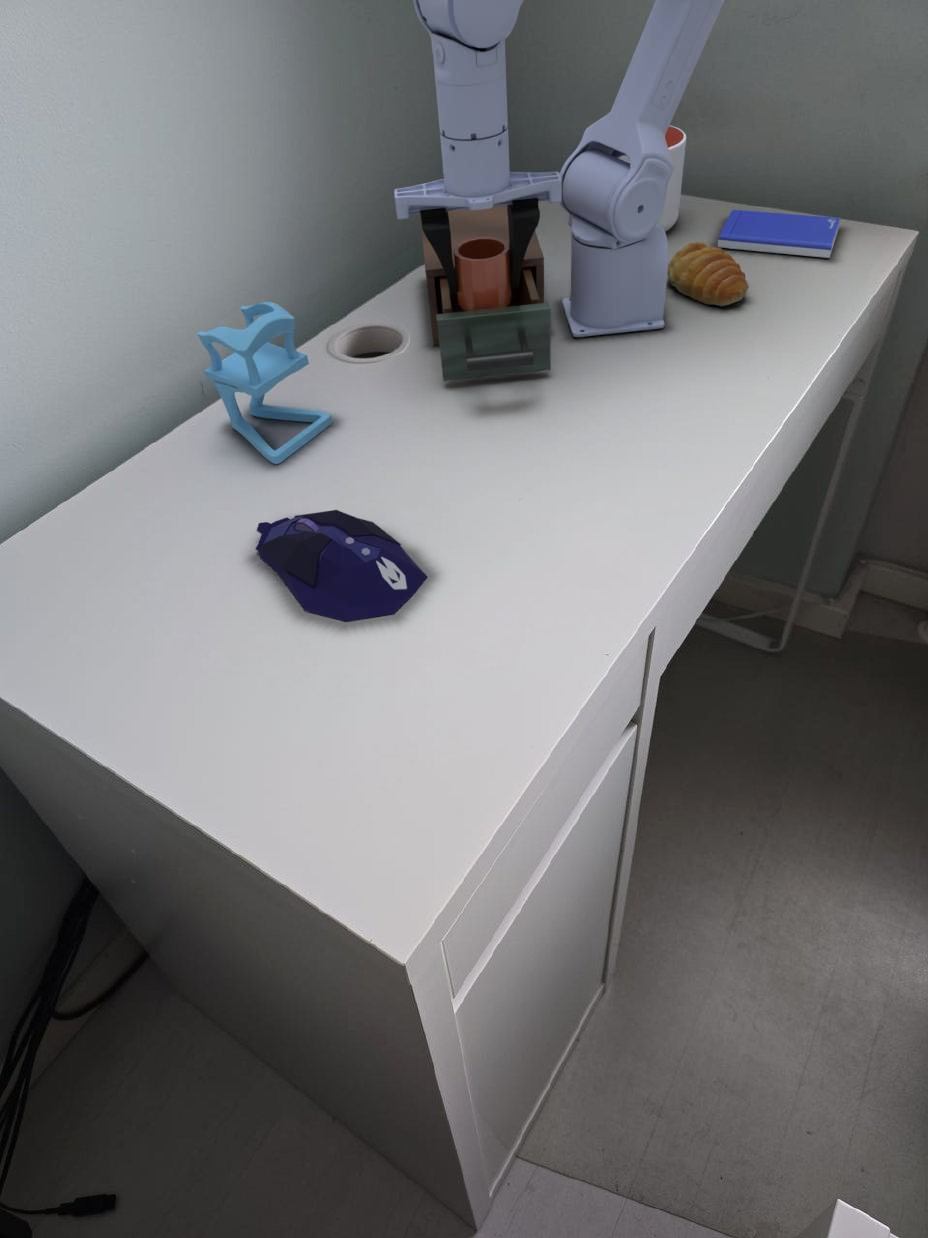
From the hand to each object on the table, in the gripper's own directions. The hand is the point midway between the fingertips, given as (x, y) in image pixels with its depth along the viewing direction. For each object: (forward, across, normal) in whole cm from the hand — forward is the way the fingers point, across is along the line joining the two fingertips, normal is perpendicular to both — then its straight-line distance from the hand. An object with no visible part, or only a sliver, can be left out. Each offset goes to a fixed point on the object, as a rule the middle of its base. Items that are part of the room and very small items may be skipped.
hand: (483, 286), depth 82 cm
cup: (+8, +21, +28) cm, 36 cm away
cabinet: (+8, 0, +11) cm, 14 cm away
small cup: (+1, 0, 0) cm, 1 cm away
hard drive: (+8, +36, +20) cm, 42 cm away
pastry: (+8, +25, +10) cm, 28 cm away
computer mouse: (+8, -15, -29) cm, 33 cm away
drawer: (+7, 0, 0) cm, 7 cm away
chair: (+8, -21, -9) cm, 24 cm away
